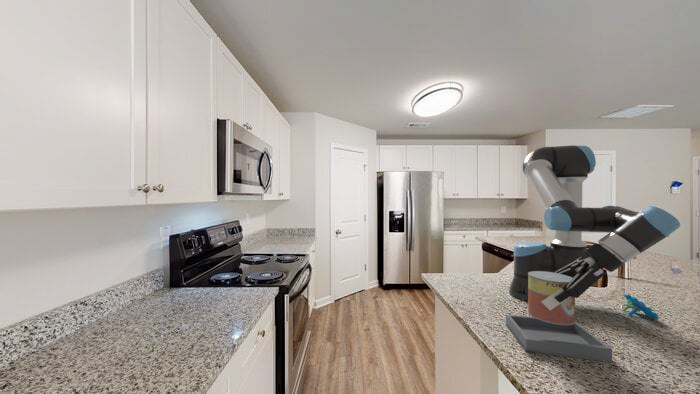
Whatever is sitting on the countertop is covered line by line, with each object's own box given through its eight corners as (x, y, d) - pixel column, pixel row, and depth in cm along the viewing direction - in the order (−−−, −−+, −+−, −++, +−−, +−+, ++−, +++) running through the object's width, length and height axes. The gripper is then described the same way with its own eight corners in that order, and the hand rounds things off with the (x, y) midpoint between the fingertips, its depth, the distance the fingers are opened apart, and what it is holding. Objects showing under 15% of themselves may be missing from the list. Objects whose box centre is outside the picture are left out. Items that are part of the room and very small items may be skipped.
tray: (505, 324, 89) (505, 314, 89) (575, 331, 84) (575, 321, 84) (525, 351, 73) (525, 339, 73) (612, 362, 68) (612, 348, 68)
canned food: (558, 328, 71) (558, 283, 71) (519, 311, 82) (519, 272, 82) (585, 321, 75) (585, 279, 75) (544, 306, 86) (544, 269, 86)
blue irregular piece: (668, 320, 89) (638, 295, 92) (652, 331, 90) (624, 306, 93) (645, 311, 99) (619, 290, 102) (632, 321, 100) (606, 299, 103)
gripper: (646, 274, 61) (562, 326, 68) (605, 255, 82) (544, 296, 89) (615, 249, 63) (537, 301, 70) (583, 237, 84) (525, 278, 91)
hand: (541, 299), depth 79 cm, fingers closed on canned food, 11 cm apart
